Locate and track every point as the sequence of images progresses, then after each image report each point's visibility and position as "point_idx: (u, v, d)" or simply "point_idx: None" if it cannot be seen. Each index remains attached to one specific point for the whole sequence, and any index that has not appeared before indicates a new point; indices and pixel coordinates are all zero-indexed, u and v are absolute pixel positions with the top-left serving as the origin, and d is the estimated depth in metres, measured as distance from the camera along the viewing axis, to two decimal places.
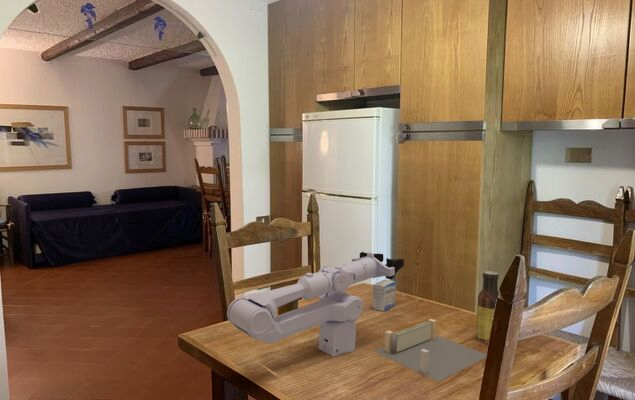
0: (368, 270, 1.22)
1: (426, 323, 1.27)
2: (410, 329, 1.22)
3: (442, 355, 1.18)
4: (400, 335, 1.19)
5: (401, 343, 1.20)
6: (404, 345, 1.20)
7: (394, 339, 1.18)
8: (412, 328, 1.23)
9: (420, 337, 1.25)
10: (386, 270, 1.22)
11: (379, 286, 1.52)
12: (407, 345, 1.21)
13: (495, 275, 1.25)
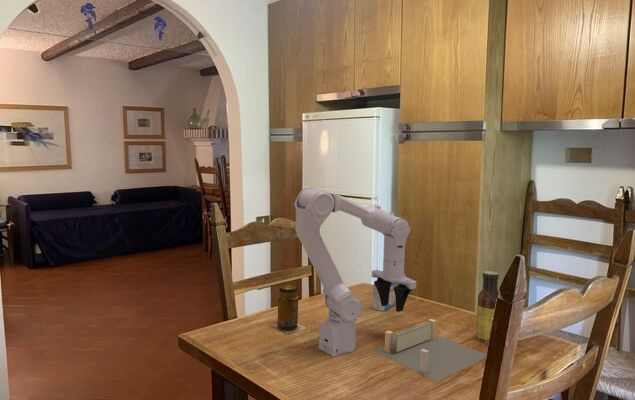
0: (402, 265, 1.24)
1: (426, 323, 1.27)
2: (410, 329, 1.22)
3: (442, 355, 1.18)
4: (400, 335, 1.19)
5: (401, 343, 1.20)
6: (404, 345, 1.20)
7: (394, 339, 1.18)
8: (412, 328, 1.23)
9: (420, 337, 1.25)
10: None
11: None
12: (407, 345, 1.21)
13: (495, 275, 1.25)
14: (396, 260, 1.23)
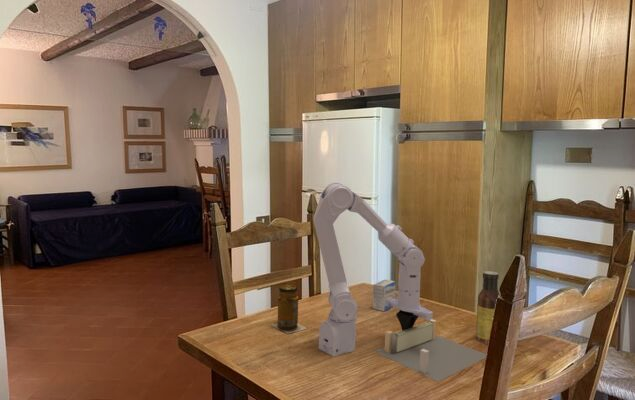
0: (418, 294, 1.21)
1: (427, 323, 1.26)
2: (411, 329, 1.22)
3: (442, 355, 1.18)
4: (400, 335, 1.19)
5: (402, 343, 1.20)
6: (404, 345, 1.20)
7: (394, 339, 1.18)
8: (413, 328, 1.23)
9: (421, 337, 1.24)
10: None
11: (379, 286, 1.52)
12: (408, 345, 1.21)
13: (495, 275, 1.25)
14: (408, 290, 1.20)
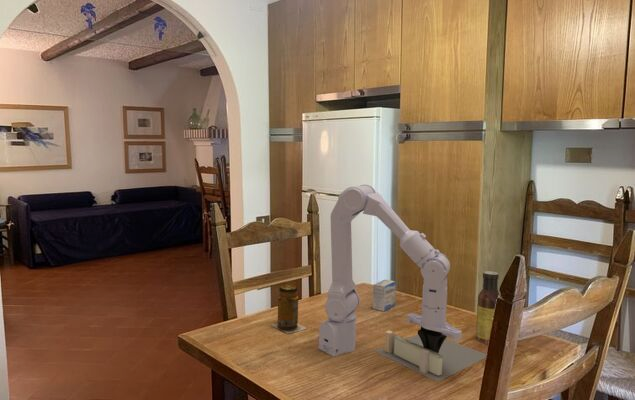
0: (445, 311, 1.09)
1: (435, 354, 1.08)
2: (412, 343, 1.13)
3: None
4: (397, 339, 1.16)
5: (399, 348, 1.16)
6: (402, 354, 1.15)
7: (392, 338, 1.18)
8: (416, 345, 1.12)
9: None
10: None
11: (379, 286, 1.52)
12: (406, 357, 1.14)
13: (495, 275, 1.25)
14: (427, 305, 1.08)
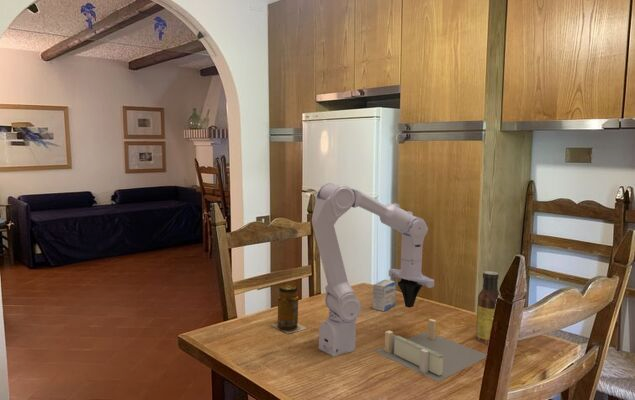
0: (420, 264, 1.26)
1: (436, 353, 1.08)
2: (413, 343, 1.13)
3: None
4: (397, 339, 1.16)
5: (399, 348, 1.16)
6: (402, 353, 1.15)
7: (392, 338, 1.18)
8: (416, 345, 1.12)
9: None
10: None
11: (379, 286, 1.52)
12: (406, 357, 1.14)
13: (495, 275, 1.25)
14: (414, 259, 1.25)
